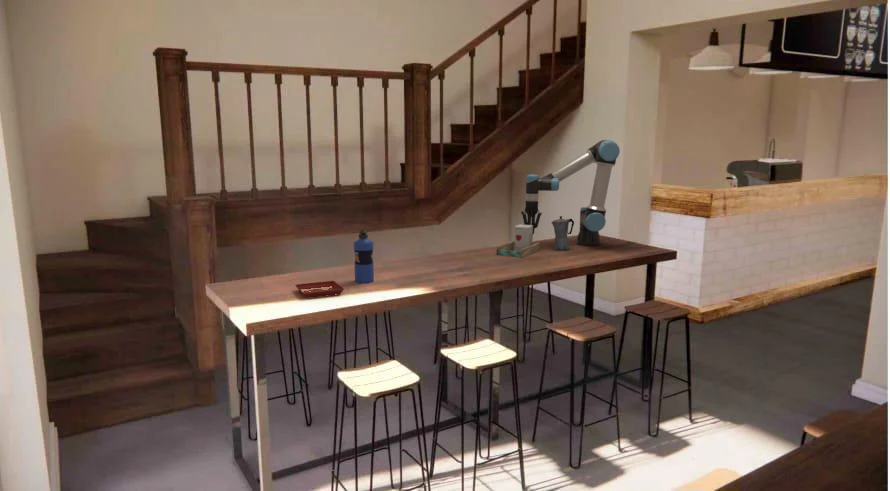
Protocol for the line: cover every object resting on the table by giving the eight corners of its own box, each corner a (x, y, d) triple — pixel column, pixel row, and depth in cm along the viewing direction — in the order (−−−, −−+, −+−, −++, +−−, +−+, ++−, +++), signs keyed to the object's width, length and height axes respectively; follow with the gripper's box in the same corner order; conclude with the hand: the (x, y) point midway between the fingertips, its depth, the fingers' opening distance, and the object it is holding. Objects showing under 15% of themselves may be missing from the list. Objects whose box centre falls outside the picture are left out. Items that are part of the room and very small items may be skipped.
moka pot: (546, 248, 383) (547, 215, 380) (567, 246, 390) (568, 214, 386) (555, 251, 375) (556, 217, 371) (577, 249, 381) (578, 216, 377)
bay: (539, 250, 378) (539, 243, 377) (522, 257, 358) (522, 249, 357) (514, 247, 386) (514, 240, 385) (496, 254, 366) (496, 246, 365)
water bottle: (357, 284, 299) (356, 231, 294) (352, 280, 307) (350, 228, 302) (376, 282, 302) (375, 230, 298) (370, 278, 311) (369, 227, 306)
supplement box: (513, 251, 376) (514, 226, 373) (517, 248, 384) (518, 224, 381) (528, 252, 372) (529, 227, 369) (532, 249, 380) (533, 224, 378)
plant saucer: (295, 291, 288) (294, 284, 288) (334, 286, 296) (333, 279, 295) (303, 300, 272) (303, 293, 272) (344, 296, 280) (344, 288, 279)
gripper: (519, 200, 382) (518, 239, 386) (539, 201, 375) (538, 241, 380) (524, 199, 388) (523, 237, 393) (544, 200, 382) (543, 239, 386)
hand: (530, 239), depth 386 cm, fingers closed
